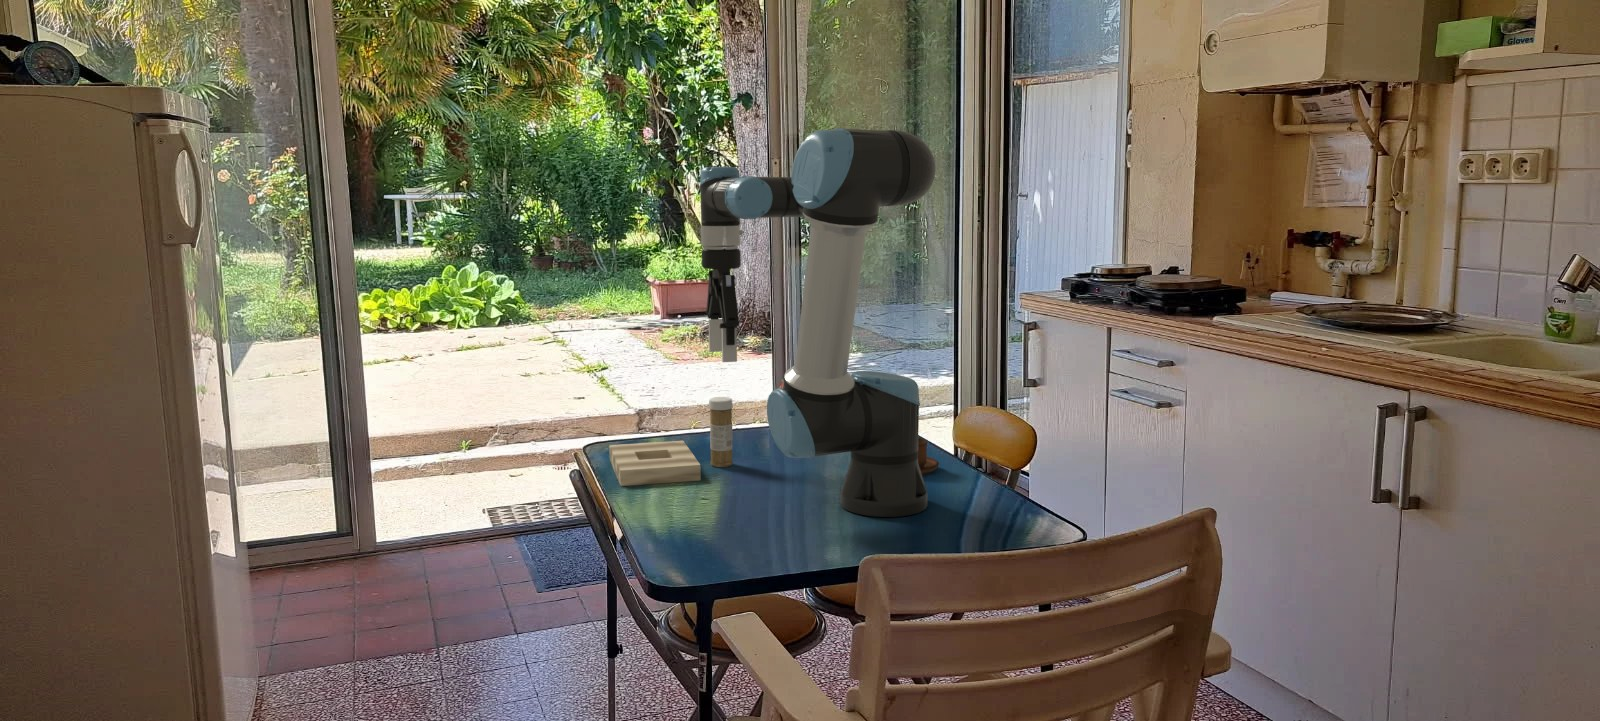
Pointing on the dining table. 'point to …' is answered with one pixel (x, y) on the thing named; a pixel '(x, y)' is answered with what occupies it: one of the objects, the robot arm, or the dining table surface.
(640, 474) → the socket plate
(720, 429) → the sprinkles bottle
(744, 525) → the dining table surface
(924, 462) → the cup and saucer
